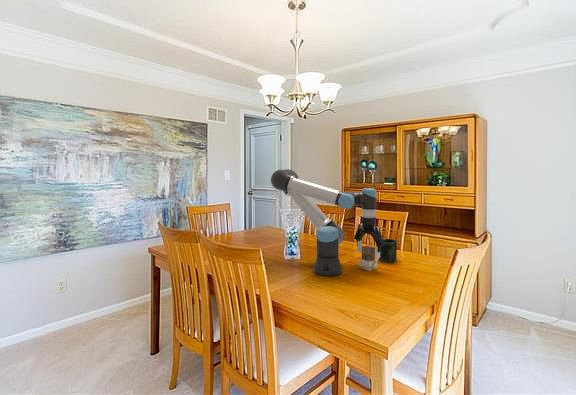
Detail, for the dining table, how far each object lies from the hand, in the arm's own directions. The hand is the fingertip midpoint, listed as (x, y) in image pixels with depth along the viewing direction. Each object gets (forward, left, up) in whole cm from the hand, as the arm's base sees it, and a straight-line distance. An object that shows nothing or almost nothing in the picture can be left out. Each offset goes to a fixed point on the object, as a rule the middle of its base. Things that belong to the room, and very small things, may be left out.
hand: (368, 255), depth 177 cm
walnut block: (0, 0, -2) cm, 2 cm away
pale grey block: (0, 0, -7) cm, 7 cm away
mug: (+22, +5, -8) cm, 24 cm away
